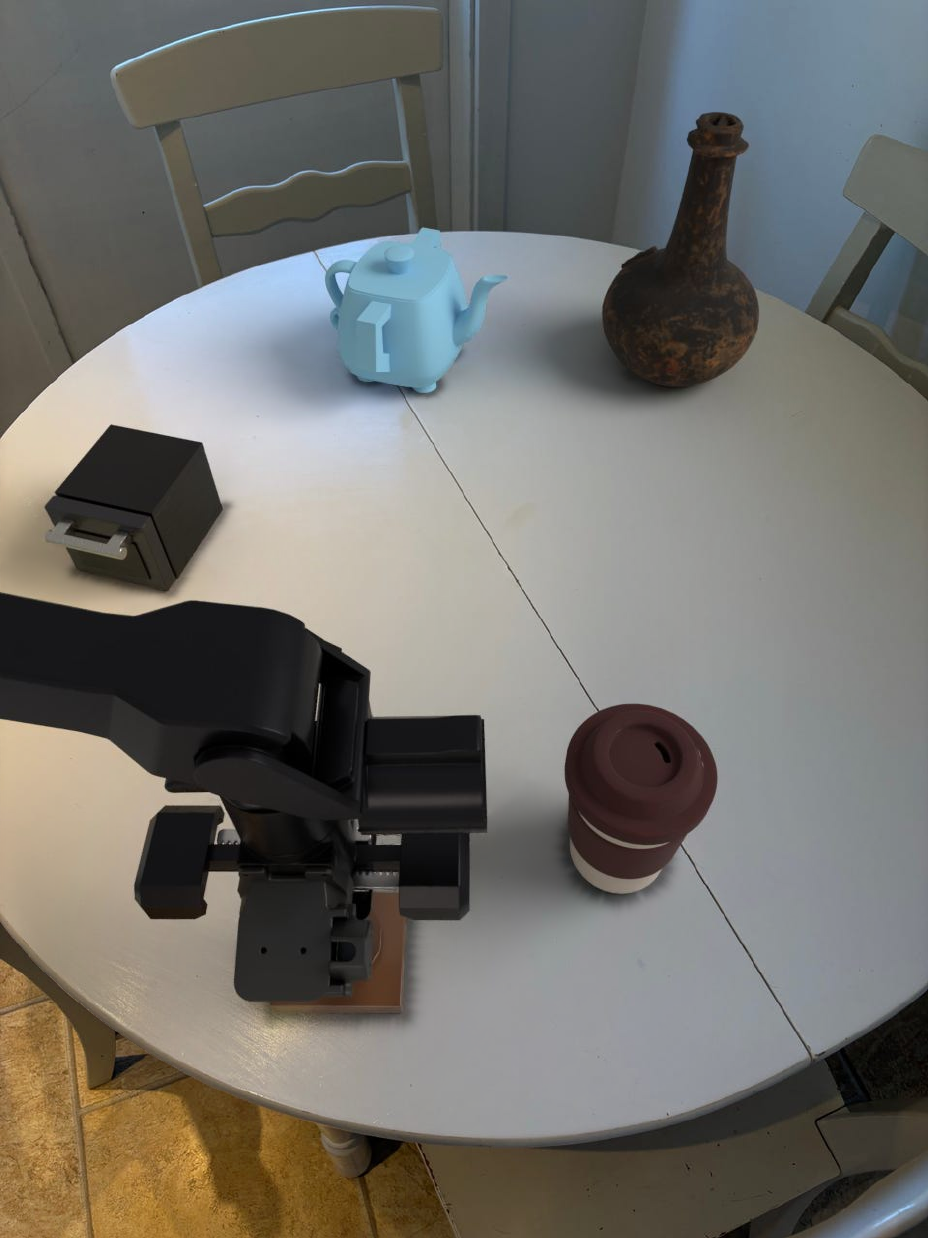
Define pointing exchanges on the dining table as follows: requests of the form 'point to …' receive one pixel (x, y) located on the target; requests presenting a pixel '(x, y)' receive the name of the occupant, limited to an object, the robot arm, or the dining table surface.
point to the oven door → (110, 542)
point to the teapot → (405, 312)
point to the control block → (386, 968)
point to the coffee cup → (634, 793)
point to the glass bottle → (688, 278)
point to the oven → (151, 486)
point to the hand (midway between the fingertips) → (327, 912)
